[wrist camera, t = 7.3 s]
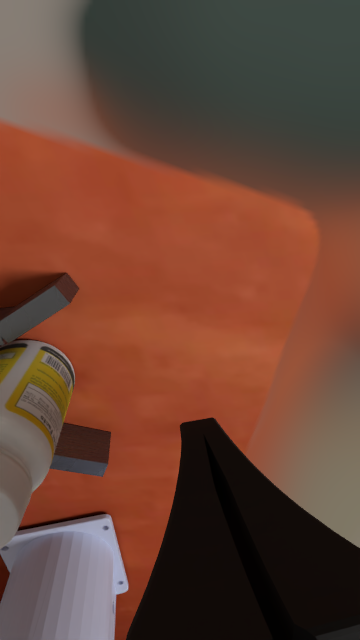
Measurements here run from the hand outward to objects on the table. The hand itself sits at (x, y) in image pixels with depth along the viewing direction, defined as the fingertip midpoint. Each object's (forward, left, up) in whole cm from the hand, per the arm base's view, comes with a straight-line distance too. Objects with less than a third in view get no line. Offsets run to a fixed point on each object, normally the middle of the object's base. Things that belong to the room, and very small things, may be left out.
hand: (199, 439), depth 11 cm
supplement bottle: (0, +8, -7) cm, 11 cm away
